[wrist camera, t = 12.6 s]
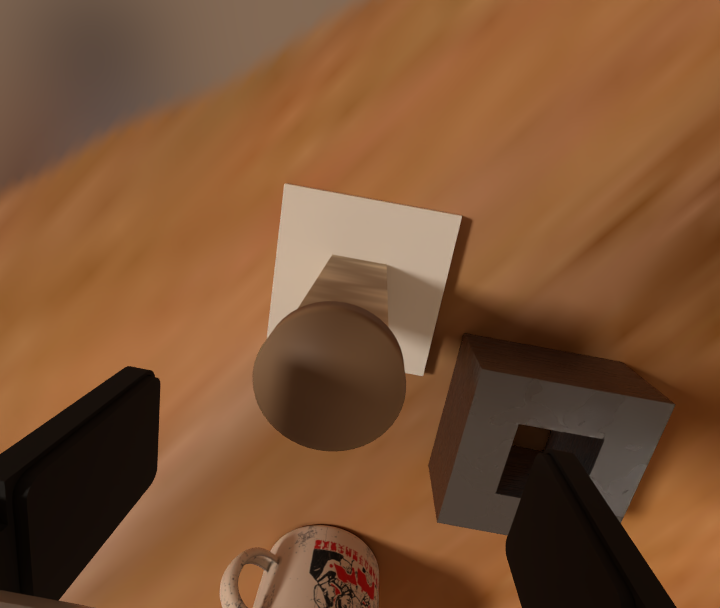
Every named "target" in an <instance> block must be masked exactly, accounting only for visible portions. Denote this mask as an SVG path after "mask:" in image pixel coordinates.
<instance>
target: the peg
mask: <svg viewBox="0 0 720 608" xmlns="http://www.w3.org/2000/svg"><path fill="white" fill-rule="evenodd" d="M253 389H254V393H255V397H256V400H257V403H258V405H259V408H260V409H261V411H262V413H263V415H264V416H265V417H266V419H267V420H268V421H269V423H270V424H271V425H272V426H273V427H274V428H275V429H276V430H277V431H279V432H280V433H281V434H282V435H284V436H285V437H287V438H288V439H290V440H291V441H294V442H296V443H298V444H300V445H302V446H305V447H308V448H312V449H316V450H322V451H345V450H350V449H355V448H358V447H361V446H364V445H366V444H368V443H370V442H372V441H374V440H375V439H377V438H378V437H380V436H381V435H382V434H383V433H385V432H386V431H387V430H388V429H389V428H390V426H391V425H392V424H393V423H394V421H395V420H396V418H397V417H398V415H399V413H400V411H401V409H402V406H403V403H404V399H405V393H406V378H405V368H404V360H403V355H402V351H401V348H400V345H399V343H398V341H397V339H396V337H395V336H394V334H393V332H392V331H391V330H390V329H389V327H388V291H387V264H381V263H376V262H371V261H365V260H360V259H354V258H349V257H344V256H338V255H333V254H332V256H331V257H330V259H329V260H328V262H327V264H326V265H325V267H324V268H323V270H322V271H321V273H320V274H319V276H318V278H317V279H316V281H315V282H314V284H313V285H312V287H311V288H310V290H309V292H308V293H307V295H306V296H305V298H304V299H303V301H302V302H301V304H300V306H299V307H298V309H296V310H294V311H293V312H291V313H290V314H288V315H287V316H286V317H284V318H283V319H282V320H281V321H280V322H279V323H278V324H277V325H276V327H275V328H274V330H273V331H272V332H271V334H270V335H269V337H268V338H267V339H266V341H265V342H264V344H263V345H262V347H261V349H260V351H259V352H258V354H257V357H256V360H255V363H254V369H253Z"/></svg>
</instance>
